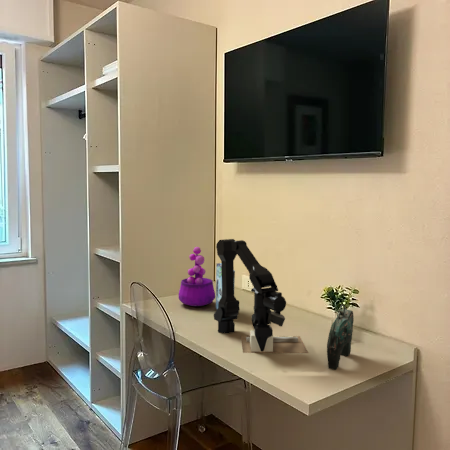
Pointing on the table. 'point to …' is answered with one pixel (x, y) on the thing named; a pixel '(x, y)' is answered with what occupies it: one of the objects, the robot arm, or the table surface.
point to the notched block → (256, 347)
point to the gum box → (219, 283)
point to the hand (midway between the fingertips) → (261, 346)
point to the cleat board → (279, 345)
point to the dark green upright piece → (340, 337)
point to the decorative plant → (196, 284)
